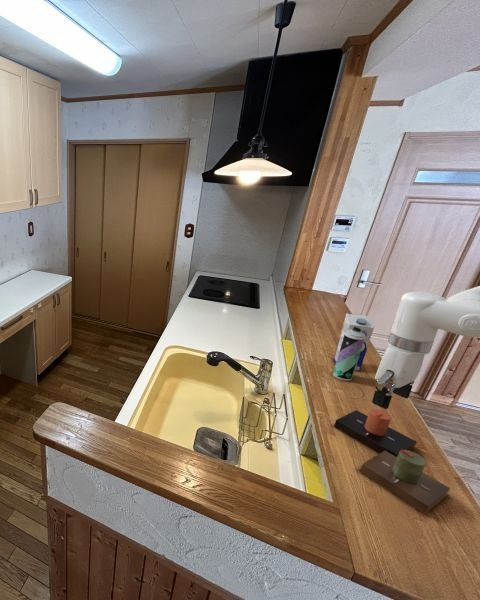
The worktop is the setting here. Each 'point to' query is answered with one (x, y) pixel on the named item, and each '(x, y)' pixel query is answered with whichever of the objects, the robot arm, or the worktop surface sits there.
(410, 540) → the worktop surface
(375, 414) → the dial knob
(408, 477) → the green rotary knob near
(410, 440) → the black dial base plate
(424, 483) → the brown dial base plate
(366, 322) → the milk carton
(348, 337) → the spray can
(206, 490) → the worktop surface
